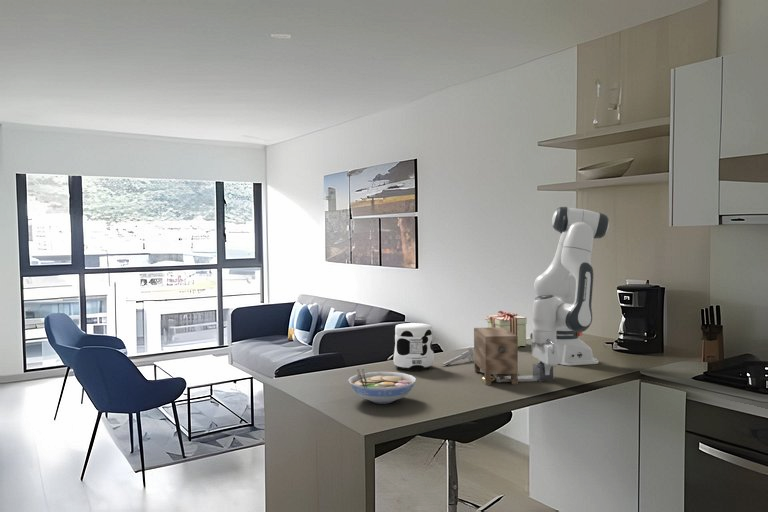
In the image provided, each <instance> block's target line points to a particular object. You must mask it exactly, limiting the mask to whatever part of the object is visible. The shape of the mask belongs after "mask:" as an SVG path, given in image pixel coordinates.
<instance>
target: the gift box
mask: <svg viewBox="0 0 768 512" xmlns="http://www.w3.org/2000/svg"><path fill="white" fill-rule="evenodd" d="M497 313H499V314H494V315H493V314H492V315H490V314H489V315H486V318H485V319H484V320H485V321H487V328H494V327H503V328H505V329H507V330H508V331H510V332H512V333H513V334H515V335H517V336H518V346H526V347H527V317H525V316H522V315H518V314H517V313H515V312H514V313H513V312H506V311H503V310H499V311H497Z"/></svg>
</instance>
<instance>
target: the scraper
mask: <svg viewBox="0 0 768 512" xmlns="http://www.w3.org/2000/svg"><path fill="white" fill-rule="evenodd" d="M544 370H545V366H544V363H539V362H537V363H536V364H535V363H532V374H531V375H518V382H538V383H543V382H544V381H554V366H551V368H550V375H545V374H544ZM492 377H495V381H494V382H496V383H502V382H504V383H507V382H509V383H511V375H499V374H492Z"/></svg>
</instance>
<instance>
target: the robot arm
mask: <svg viewBox="0 0 768 512" xmlns="http://www.w3.org/2000/svg"><path fill="white" fill-rule="evenodd" d="M551 223H552V228H553V229H554V230H555V231H556V232H558V233H559V234H560V236H559V240H558V244H557V247H556V251H555V254H554V257H553V259H552V261H551V262H550V264H549V265H548V267H547V268H546V269H545V270H544V271H543V272H542V273H541V274H540V275H538V276H536V278H535V280H534V282H533V289H534V292H535V293H536V295H537V296H536V297H535V298H534V301H533V303H532V322H533V326H532V332H531V333H530V334H529V337H530V339H531V342H530V343H531V344H530V345H531V354H532V357H533V358H535V359H536V360H538V363H544V366H545V370H544V374H545V375H550V368H551V366H553V367H558V365H563V366H581V365H584V366H585V365H596V364H597V365H598V364H599V359H597V358H596V357H594V355H593V350H592V348H591V347H590V346H589V345H588V344H586V343H585V342H584V341H583V340H582V339H580V338H579V337H582V336H583V332H585V331H587V330H588V329H589V328H590V326H591V325H592V323H593V308H592V300H593V290H594V289H593V288H594V269H593V266H592V261H591V260H592V254H593V247H594V239H596V240H597V239H602V238H603V237H605V236H606V234H607V232H608V231H609V227H610V222H609V217H608V215H606V214H605V213H601V212H596V211H593V210H588V209H584V208H583V209H582V208H575V207H568V206H559V207H558V208H556V210H555V211H554V213H553V215H552V218H551Z"/></svg>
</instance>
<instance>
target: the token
mask: <svg viewBox="0 0 768 512" xmlns="http://www.w3.org/2000/svg"><path fill="white" fill-rule="evenodd" d="M481 381H482V382H484V381H485V375H484V376H482V377H481ZM492 382H493V383H494V382H496V381H495V377H493V375H491V383H492Z"/></svg>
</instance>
